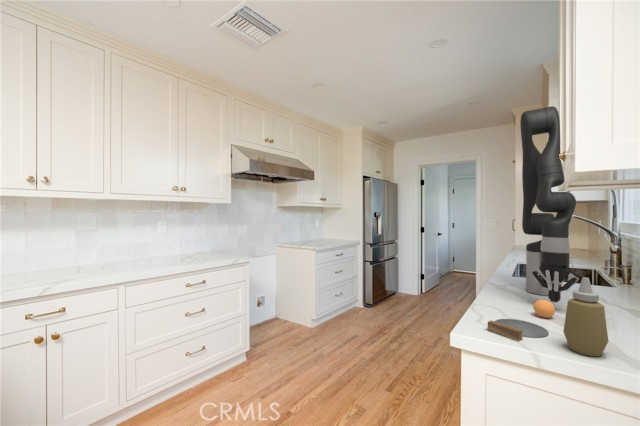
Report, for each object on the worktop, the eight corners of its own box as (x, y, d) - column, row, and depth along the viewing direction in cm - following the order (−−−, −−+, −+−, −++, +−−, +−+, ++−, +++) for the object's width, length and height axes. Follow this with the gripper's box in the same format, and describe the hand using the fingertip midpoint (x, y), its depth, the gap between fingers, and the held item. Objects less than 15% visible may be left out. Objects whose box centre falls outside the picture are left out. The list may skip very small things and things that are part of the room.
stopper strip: (491, 329, 83) (491, 320, 83) (522, 339, 76) (522, 330, 76) (487, 330, 82) (487, 321, 82) (518, 341, 75) (518, 331, 75)
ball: (537, 312, 96) (538, 296, 96) (558, 318, 91) (558, 301, 91) (530, 316, 93) (530, 299, 93) (550, 321, 89) (550, 303, 88)
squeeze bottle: (616, 362, 65) (617, 283, 65) (572, 356, 68) (573, 280, 68) (596, 346, 72) (597, 275, 72) (557, 341, 75) (558, 273, 75)
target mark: (507, 316, 93) (507, 315, 93) (556, 330, 82) (556, 330, 82) (485, 324, 86) (485, 324, 86) (536, 341, 75) (536, 341, 75)
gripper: (584, 252, 93) (584, 305, 93) (537, 247, 105) (537, 295, 105) (575, 253, 90) (574, 309, 90) (527, 248, 101) (526, 298, 101)
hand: (554, 301), depth 97 cm, fingers closed
